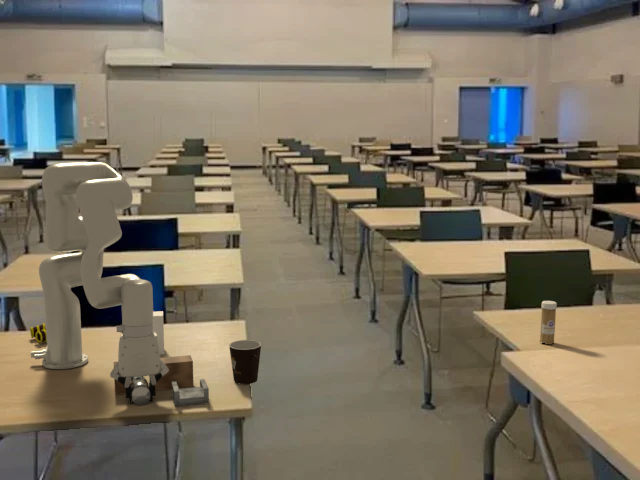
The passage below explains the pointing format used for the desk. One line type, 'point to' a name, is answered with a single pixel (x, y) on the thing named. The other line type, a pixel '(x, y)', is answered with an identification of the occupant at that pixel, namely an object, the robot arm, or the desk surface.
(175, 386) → the cradle
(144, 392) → the axle
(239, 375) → the dark brown paper cup
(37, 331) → the opera glasses
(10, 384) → the desk surface
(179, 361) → the wooden panel with opening
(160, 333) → the corner bracket
